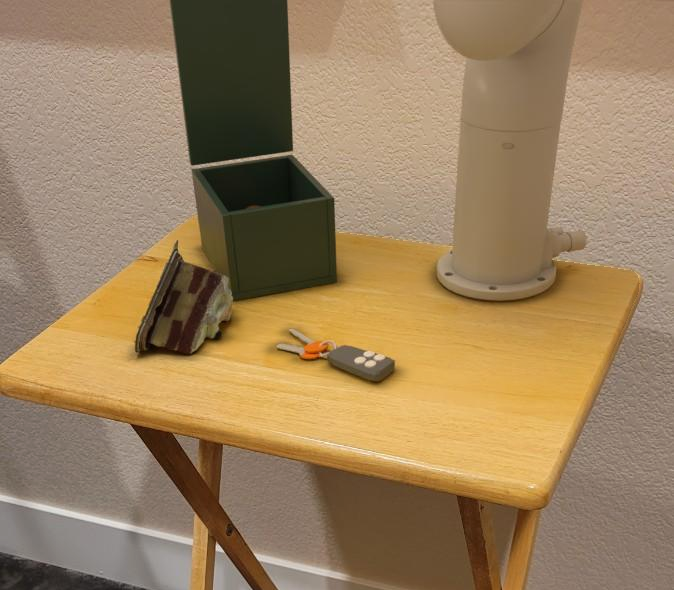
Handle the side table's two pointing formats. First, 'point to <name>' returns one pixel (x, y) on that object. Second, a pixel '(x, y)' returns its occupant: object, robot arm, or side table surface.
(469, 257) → the robot arm
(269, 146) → the bread lid
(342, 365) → the key chain
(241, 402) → the side table surface
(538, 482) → the side table surface
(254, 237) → the box
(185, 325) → the chocolate cake
